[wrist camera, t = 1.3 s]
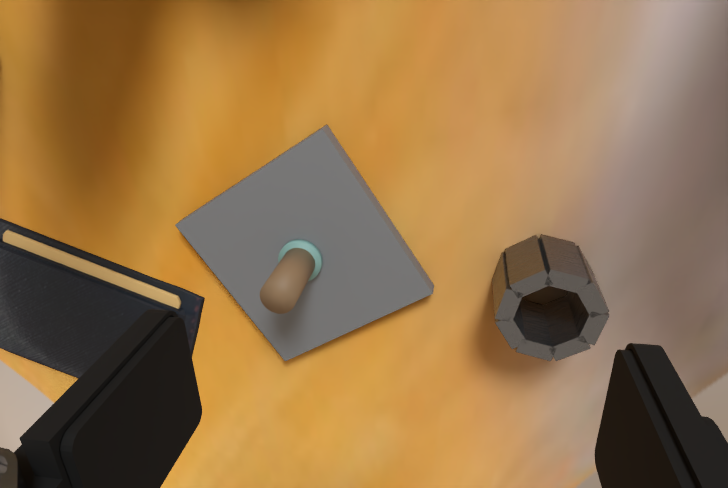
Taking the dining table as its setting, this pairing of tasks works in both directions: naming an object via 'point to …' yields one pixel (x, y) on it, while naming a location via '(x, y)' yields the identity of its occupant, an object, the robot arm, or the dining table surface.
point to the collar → (555, 319)
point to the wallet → (75, 301)
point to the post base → (306, 248)
